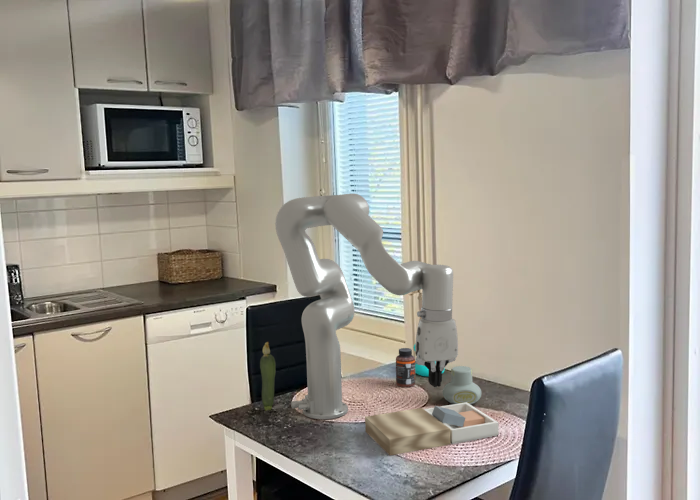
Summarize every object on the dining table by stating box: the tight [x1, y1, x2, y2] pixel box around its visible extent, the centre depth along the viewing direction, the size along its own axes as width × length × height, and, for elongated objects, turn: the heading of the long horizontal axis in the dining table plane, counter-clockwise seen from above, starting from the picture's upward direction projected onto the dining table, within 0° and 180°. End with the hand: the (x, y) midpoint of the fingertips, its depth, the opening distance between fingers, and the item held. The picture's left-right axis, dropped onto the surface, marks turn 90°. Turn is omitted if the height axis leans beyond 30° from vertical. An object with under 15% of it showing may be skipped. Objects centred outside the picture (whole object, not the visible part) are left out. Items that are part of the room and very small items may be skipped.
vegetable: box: [259, 341, 277, 412], centre depth 195 cm, size 4×4×20 cm
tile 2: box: [458, 411, 485, 428], centre depth 180 cm, size 6×6×2 cm
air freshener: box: [442, 365, 482, 405], centre depth 198 cm, size 11×8×10 cm
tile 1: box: [432, 405, 465, 427], centre depth 177 cm, size 6×6×2 cm
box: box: [423, 402, 500, 445], centre depth 179 cm, size 13×16×4 cm
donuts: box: [413, 342, 446, 377], centre depth 226 cm, size 10×10×10 cm
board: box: [364, 407, 451, 456], centre depth 174 cm, size 16×16×4 cm
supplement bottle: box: [395, 347, 416, 388], centre depth 214 cm, size 6×6×11 cm
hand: (434, 385), depth 176 cm, fingers closed
